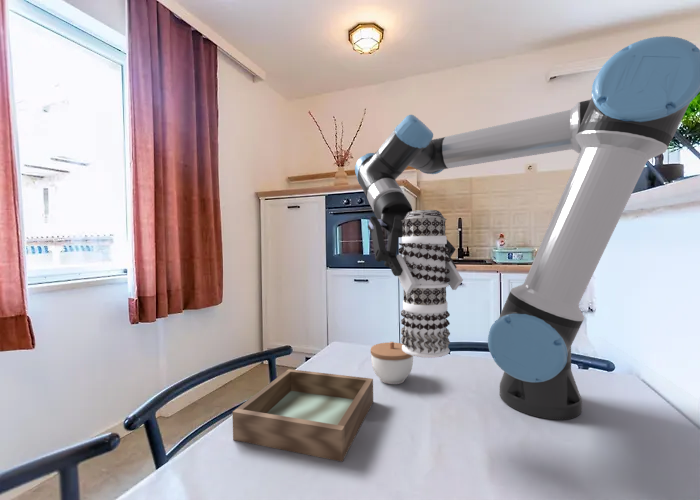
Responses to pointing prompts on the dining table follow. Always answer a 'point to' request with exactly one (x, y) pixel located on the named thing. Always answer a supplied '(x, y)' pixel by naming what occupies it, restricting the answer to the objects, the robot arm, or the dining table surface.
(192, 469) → the dining table surface
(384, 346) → the lidded jar
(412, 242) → the decorative candle
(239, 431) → the wooden drawer box
